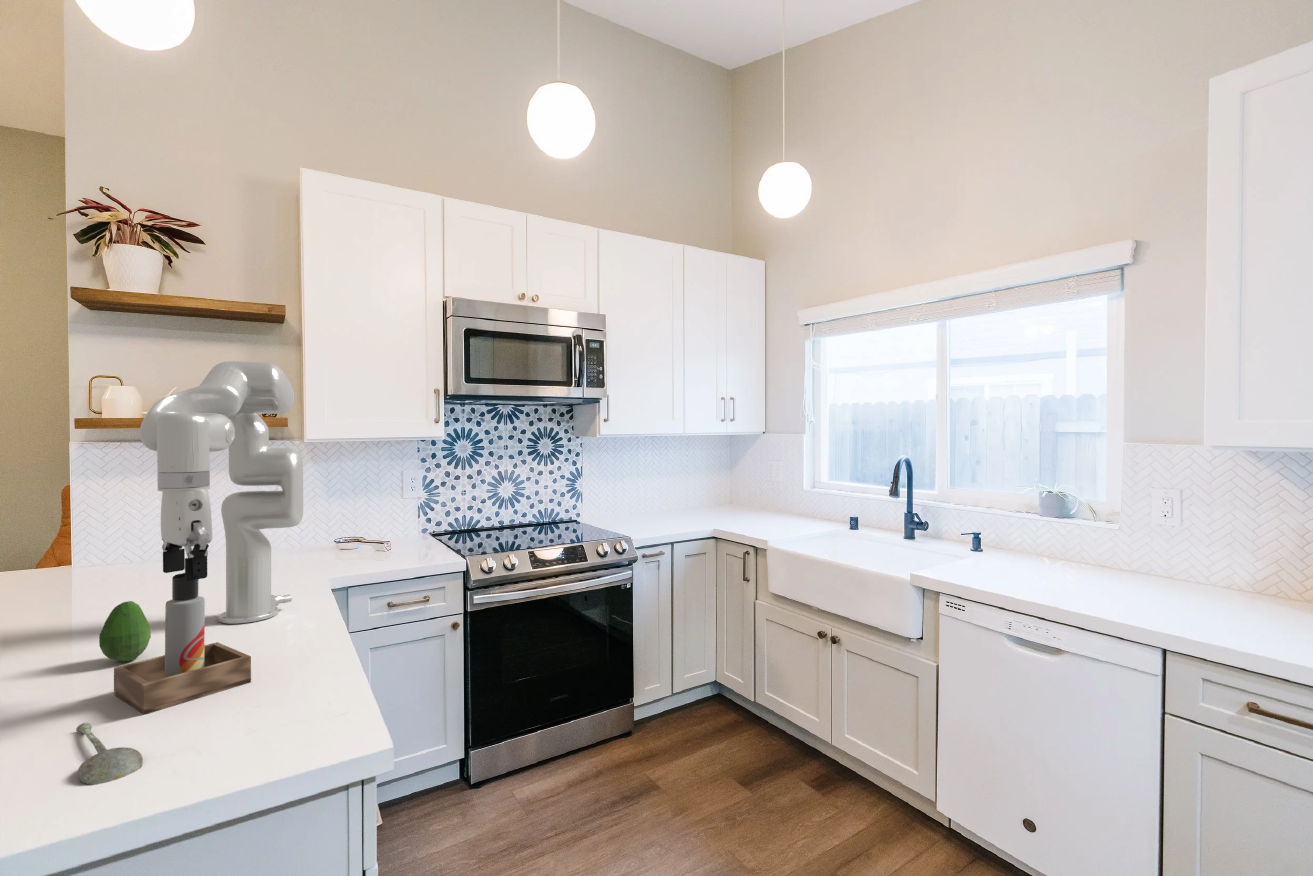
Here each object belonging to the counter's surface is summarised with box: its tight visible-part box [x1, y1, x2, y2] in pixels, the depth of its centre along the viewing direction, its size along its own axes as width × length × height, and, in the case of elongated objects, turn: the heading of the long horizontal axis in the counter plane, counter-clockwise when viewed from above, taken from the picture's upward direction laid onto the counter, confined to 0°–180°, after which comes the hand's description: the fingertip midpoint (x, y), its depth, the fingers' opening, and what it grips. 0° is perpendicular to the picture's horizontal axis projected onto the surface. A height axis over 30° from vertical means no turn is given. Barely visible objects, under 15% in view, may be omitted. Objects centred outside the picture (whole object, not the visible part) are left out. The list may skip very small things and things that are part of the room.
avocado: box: [98, 600, 152, 662], centre depth 125 cm, size 8×8×12 cm
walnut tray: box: [113, 641, 252, 715], centre depth 112 cm, size 16×14×5 cm
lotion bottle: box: [164, 572, 206, 678], centre depth 112 cm, size 6×6×20 cm
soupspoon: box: [75, 721, 144, 786], centre depth 89 cm, size 22×3×7 cm
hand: (184, 575), depth 112 cm, fingers open, 9 cm apart
